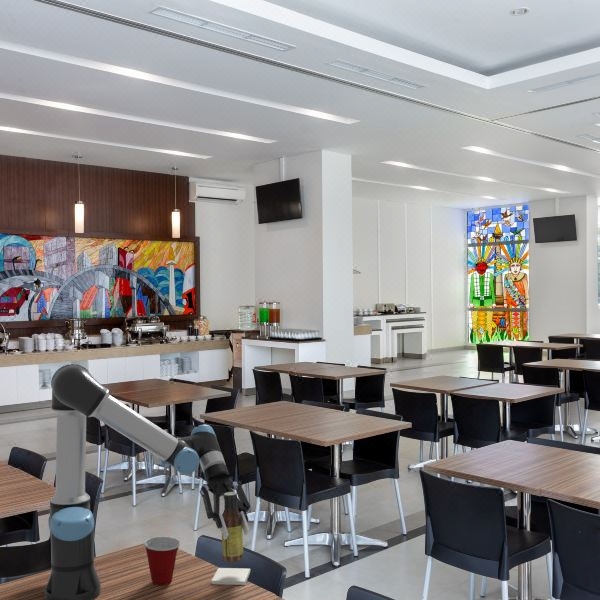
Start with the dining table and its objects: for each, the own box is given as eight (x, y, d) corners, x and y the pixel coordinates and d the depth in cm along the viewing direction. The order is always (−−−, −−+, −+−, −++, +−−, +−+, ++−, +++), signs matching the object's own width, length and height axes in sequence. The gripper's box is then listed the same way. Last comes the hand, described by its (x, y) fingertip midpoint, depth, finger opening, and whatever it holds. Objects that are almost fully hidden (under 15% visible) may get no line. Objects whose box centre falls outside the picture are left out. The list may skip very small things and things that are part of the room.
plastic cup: (172, 590, 201) (172, 548, 201) (138, 587, 203) (137, 546, 203) (186, 575, 211) (186, 536, 212) (153, 573, 214) (152, 534, 214)
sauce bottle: (247, 558, 210) (246, 492, 211) (234, 564, 205) (233, 497, 205) (230, 554, 214) (229, 489, 214) (217, 560, 209) (216, 494, 209)
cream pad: (211, 584, 205) (211, 580, 205) (218, 571, 215) (218, 567, 215) (244, 584, 204) (244, 581, 204) (250, 571, 214) (250, 568, 214)
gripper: (238, 471, 228) (261, 535, 213) (183, 479, 218) (203, 547, 204) (245, 458, 223) (269, 522, 209) (189, 466, 214) (210, 534, 199)
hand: (236, 534), depth 206 cm, fingers closed on sauce bottle, 6 cm apart
